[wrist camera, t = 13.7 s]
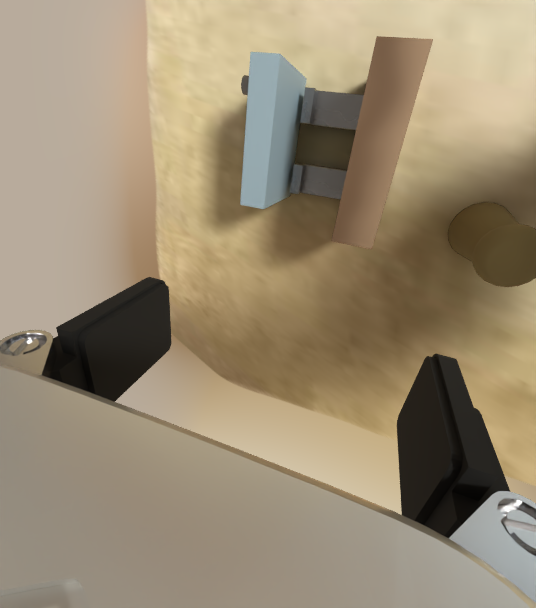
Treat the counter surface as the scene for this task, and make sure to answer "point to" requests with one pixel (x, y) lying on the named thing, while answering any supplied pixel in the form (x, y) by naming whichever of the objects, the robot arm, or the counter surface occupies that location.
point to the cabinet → (379, 136)
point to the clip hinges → (327, 113)
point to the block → (270, 128)
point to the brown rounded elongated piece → (495, 244)
